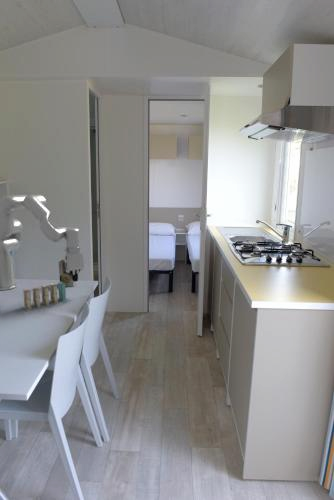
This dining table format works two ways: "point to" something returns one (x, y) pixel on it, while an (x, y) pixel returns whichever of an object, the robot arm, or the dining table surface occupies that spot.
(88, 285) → the dining table surface
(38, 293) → the domino
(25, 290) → the domino
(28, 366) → the dining table surface
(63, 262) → the coffee box
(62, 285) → the teal domino
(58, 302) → the slate mat
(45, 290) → the domino
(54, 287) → the domino
